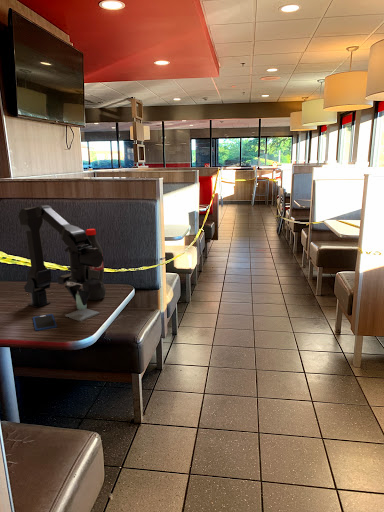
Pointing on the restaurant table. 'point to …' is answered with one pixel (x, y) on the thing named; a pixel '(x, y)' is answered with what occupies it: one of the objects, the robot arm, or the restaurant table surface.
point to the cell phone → (44, 322)
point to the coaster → (82, 314)
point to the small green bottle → (79, 302)
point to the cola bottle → (100, 292)
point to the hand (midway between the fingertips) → (81, 304)
